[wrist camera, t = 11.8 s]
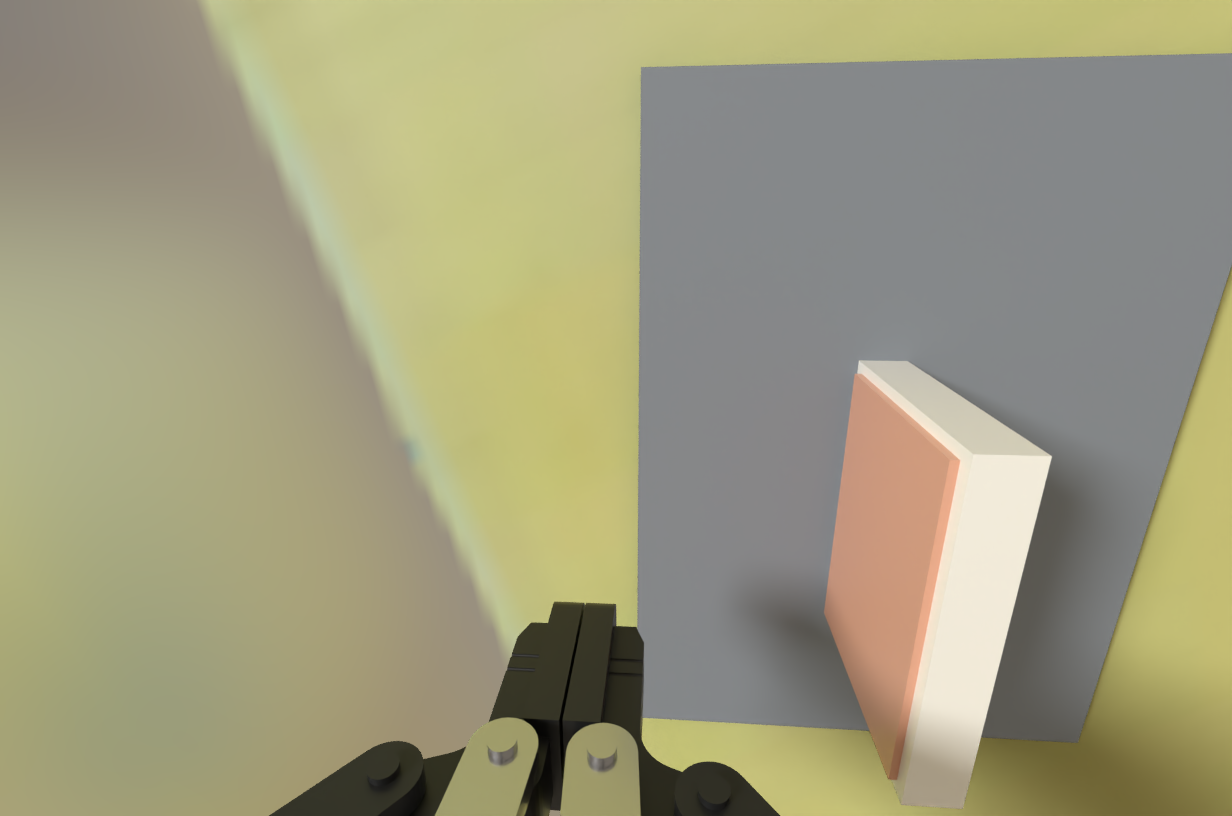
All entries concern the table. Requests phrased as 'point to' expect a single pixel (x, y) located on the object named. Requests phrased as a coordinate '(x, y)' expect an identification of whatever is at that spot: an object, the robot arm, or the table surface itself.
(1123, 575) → the mat
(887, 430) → the card deck
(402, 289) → the table surface
